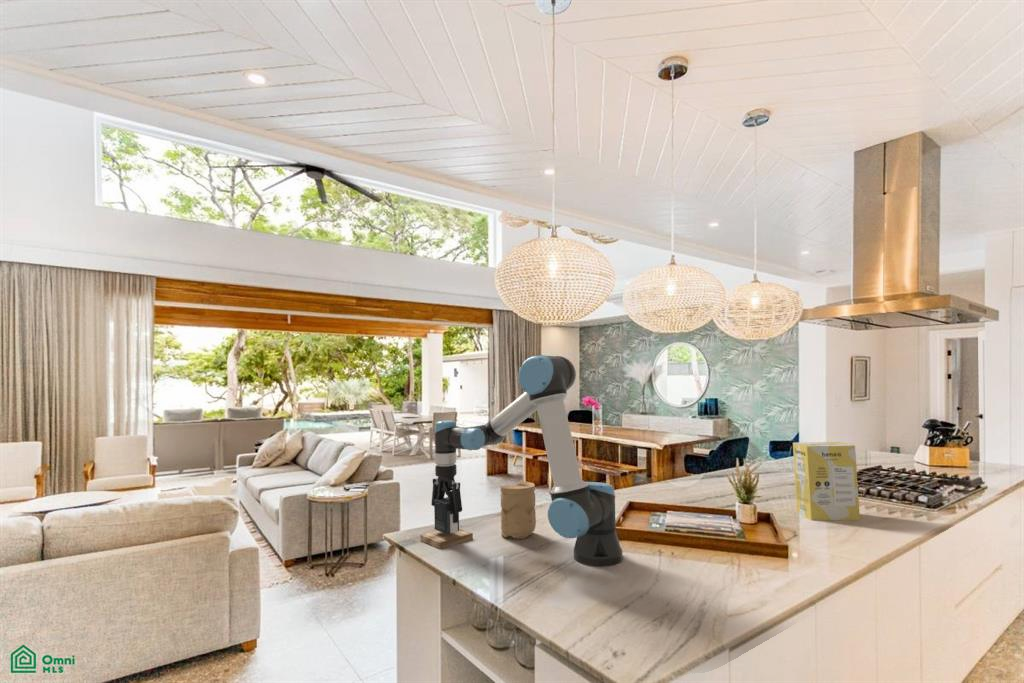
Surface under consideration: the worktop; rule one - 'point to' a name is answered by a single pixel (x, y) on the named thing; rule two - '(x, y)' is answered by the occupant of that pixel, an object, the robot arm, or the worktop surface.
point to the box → (443, 515)
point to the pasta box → (826, 481)
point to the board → (446, 538)
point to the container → (518, 510)
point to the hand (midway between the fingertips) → (446, 529)
